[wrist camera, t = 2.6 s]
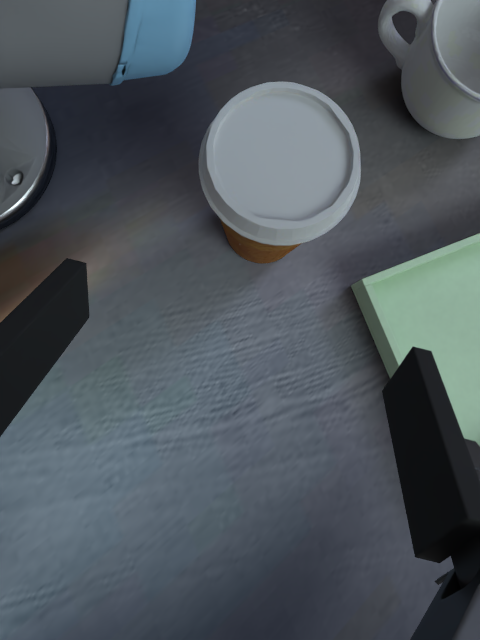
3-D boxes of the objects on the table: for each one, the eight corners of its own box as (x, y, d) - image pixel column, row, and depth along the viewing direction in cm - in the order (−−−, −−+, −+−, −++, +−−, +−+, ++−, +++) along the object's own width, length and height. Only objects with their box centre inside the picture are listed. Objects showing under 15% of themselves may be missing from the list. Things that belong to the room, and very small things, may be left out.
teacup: (520, 86, 35) (607, 7, 27) (466, 180, 34) (540, 126, 26) (392, 8, 36) (440, -92, 28) (334, 99, 34) (367, 21, 26)
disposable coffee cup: (184, 240, 33) (162, 171, 21) (248, 154, 34) (262, 41, 22) (275, 304, 32) (307, 272, 20) (337, 216, 33) (401, 137, 21)
